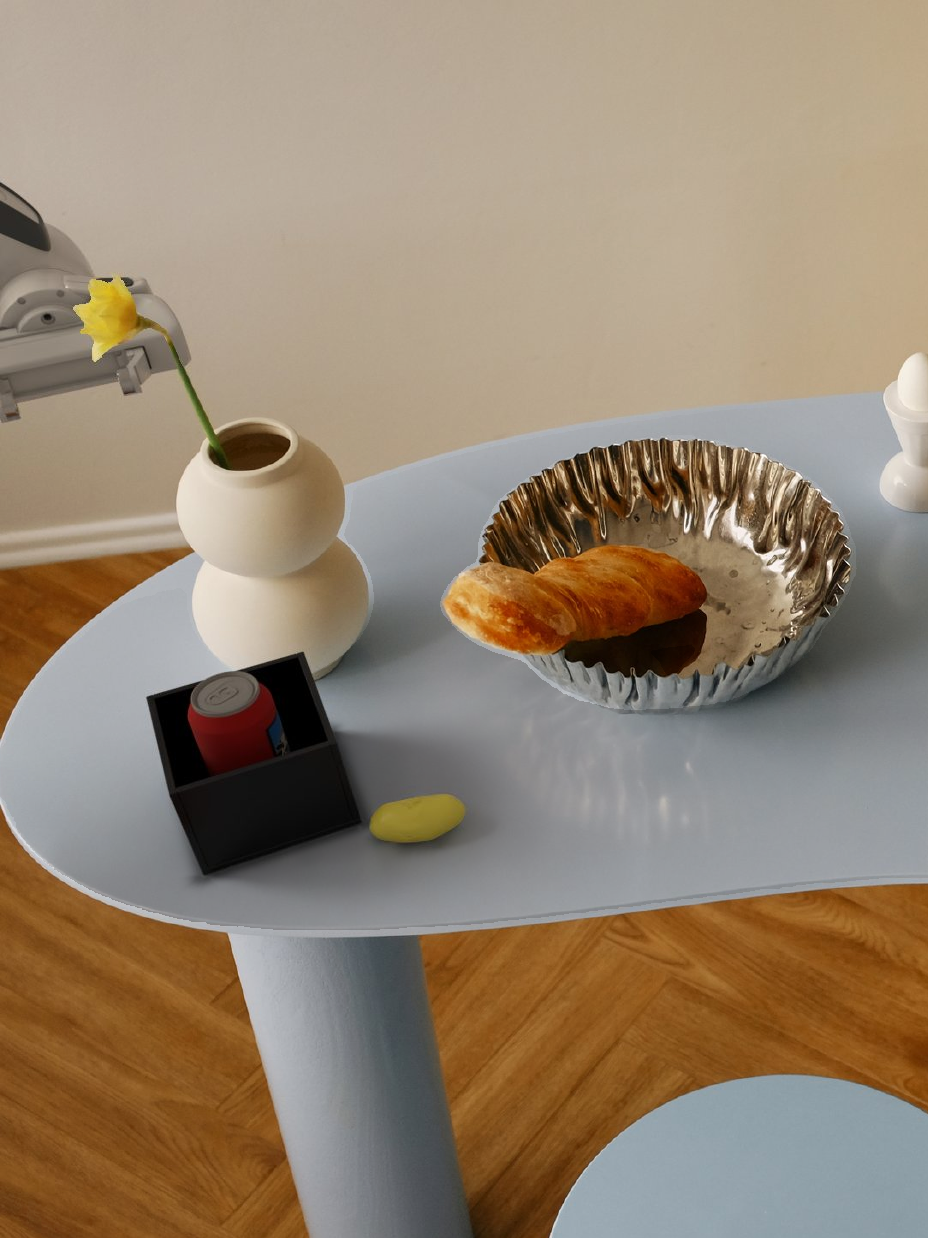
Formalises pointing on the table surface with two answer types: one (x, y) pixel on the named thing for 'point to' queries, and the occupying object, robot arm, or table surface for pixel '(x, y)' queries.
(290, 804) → the open black box
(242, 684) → the beverage can
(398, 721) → the table surface
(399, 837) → the yellow oval lump
